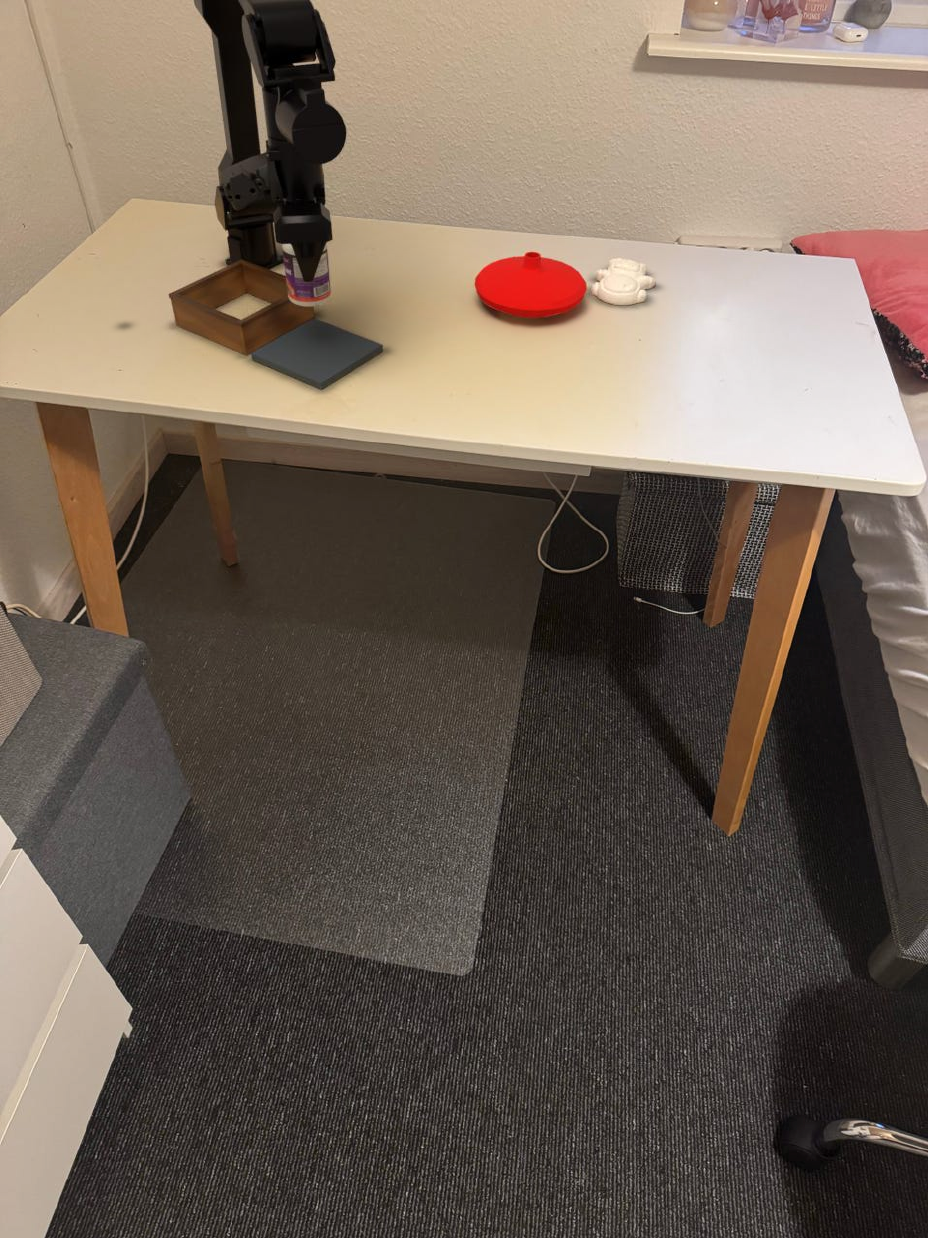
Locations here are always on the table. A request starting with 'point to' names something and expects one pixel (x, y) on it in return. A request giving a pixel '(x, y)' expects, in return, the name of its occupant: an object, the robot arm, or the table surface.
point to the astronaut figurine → (622, 282)
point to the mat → (317, 353)
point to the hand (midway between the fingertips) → (307, 270)
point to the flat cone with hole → (530, 286)
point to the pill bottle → (306, 291)
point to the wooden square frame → (227, 284)
